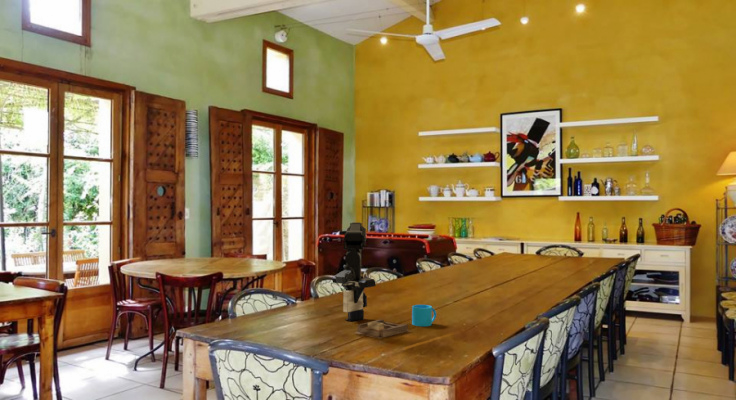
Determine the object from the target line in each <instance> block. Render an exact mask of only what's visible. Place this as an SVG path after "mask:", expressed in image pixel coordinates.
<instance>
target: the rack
mask: <svg viewBox="0 0 736 400" xmlns="http://www.w3.org/2000/svg"><path fill="white" fill-rule="evenodd" d="M373 321H374V322H380V323H384V330H381V335H380V332H378V331H374V330H369V329H365V327H368V323H369V322H370V321H368V322H365V323H360V324H357V331H355V332H354V334H359V335H363V336H367V337H371V338H376V339H384V338H388V337H392V336H395V335H399V334H402V333H406V332H410V330H409V329H408V324H406V323H404V324H396V323H391V322H388V321H384V319H376V320H373ZM373 321H371V322H373Z"/></svg>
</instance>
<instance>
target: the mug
mask: <svg viewBox="0 0 736 400" xmlns="http://www.w3.org/2000/svg"><path fill="white" fill-rule="evenodd" d="M436 318H437V311H436V309H435V308H434V307H433V306H432V305H429V304H415V305H412V306H411V325H413V326H414V327H415V326H416V327H430V326H432V324H433V323H434V321H435V320H436Z"/></svg>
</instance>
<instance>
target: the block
mask: <svg viewBox="0 0 736 400" xmlns="http://www.w3.org/2000/svg"><path fill="white" fill-rule="evenodd" d="M342 293H343V295H342V296H343V301H342V306H343V307H342V309H343V311H342V312H343V313H348V312H351V311H356V310H361V309H363V310H364V307H363V304H364V303H363V292H362V293H361V295H360V298H359V300H358V302H357V303H354V290H347V291H346V290H344V291H343V292H342Z"/></svg>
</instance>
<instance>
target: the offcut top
mask: <svg viewBox="0 0 736 400" xmlns="http://www.w3.org/2000/svg"><path fill="white" fill-rule="evenodd" d="M374 321H375V320H373V322H372V321H368V322H369V323H368V322H367V323H368V328H369V329H375V330H380V329H383V328H384V323H380V322H374Z"/></svg>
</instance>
